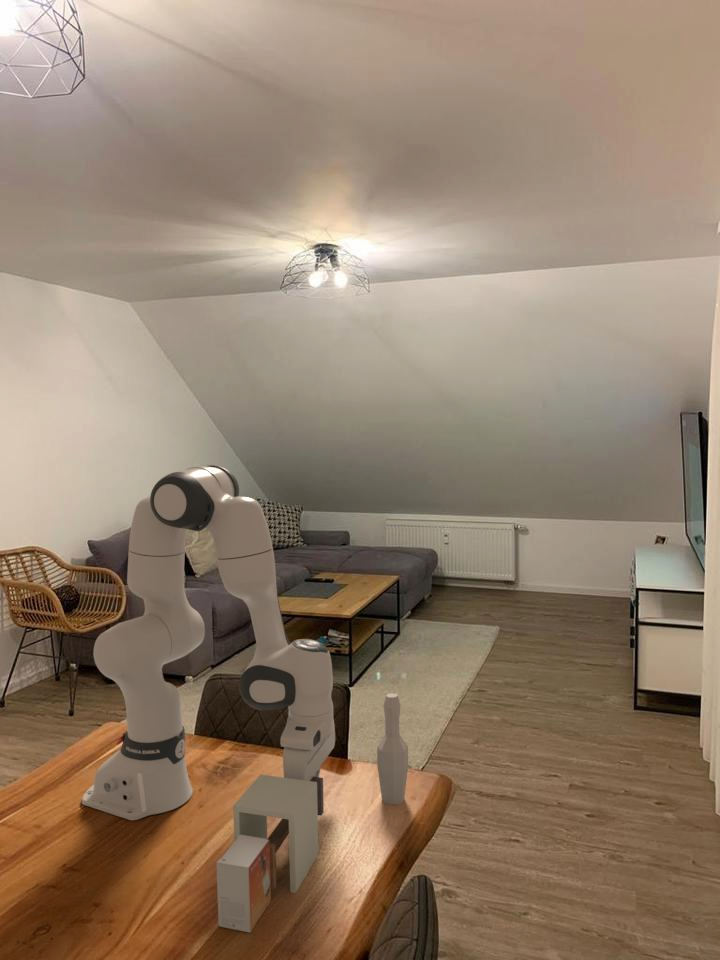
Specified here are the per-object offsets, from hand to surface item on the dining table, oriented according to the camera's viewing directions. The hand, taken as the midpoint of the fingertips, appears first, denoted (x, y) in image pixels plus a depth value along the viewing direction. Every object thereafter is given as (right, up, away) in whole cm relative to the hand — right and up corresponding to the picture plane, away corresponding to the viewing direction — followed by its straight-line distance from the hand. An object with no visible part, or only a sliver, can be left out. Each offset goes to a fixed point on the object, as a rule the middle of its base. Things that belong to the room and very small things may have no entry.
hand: (312, 789), depth 139 cm
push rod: (-4, -4, -13) cm, 15 cm away
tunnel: (-5, -6, -17) cm, 18 cm away
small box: (-9, -7, -28) cm, 30 cm away
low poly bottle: (+16, -5, +6) cm, 18 cm away
